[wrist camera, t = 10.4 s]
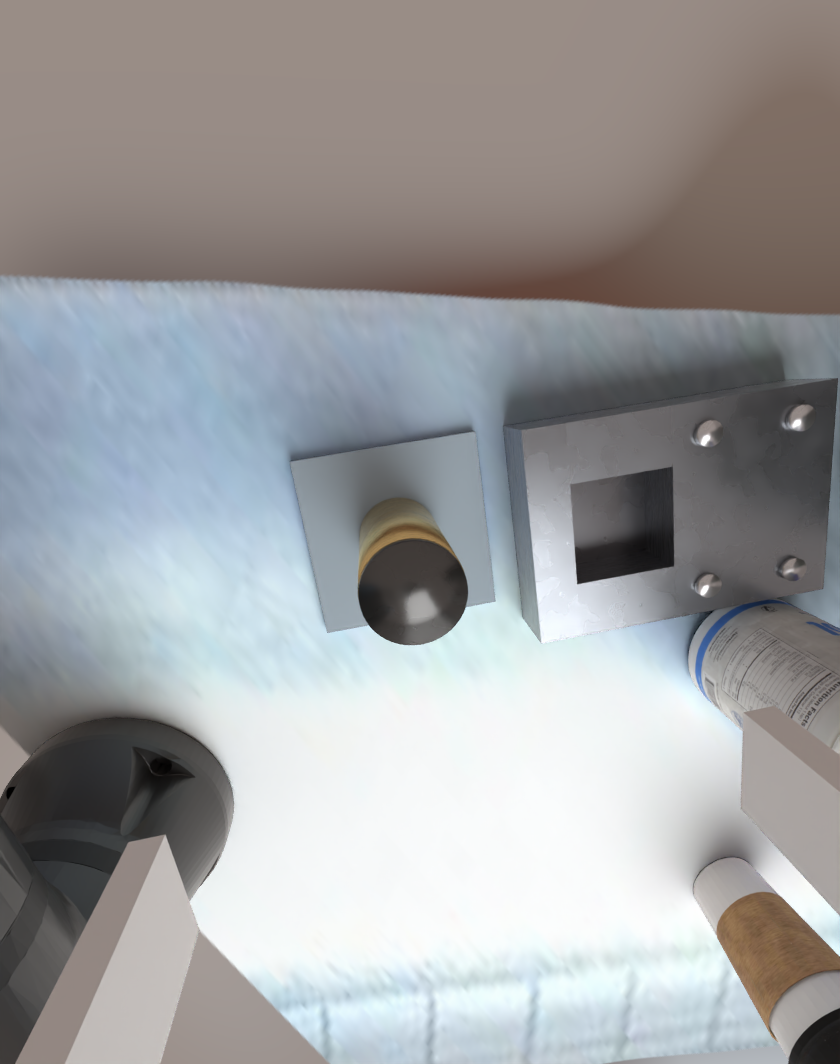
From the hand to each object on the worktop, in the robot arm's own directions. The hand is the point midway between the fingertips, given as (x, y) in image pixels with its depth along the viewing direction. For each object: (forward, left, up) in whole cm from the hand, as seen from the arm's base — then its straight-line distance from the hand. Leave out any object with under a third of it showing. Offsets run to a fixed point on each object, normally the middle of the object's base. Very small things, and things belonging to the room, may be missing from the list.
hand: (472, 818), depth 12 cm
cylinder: (0, 0, -24) cm, 24 cm away
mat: (0, 0, -24) cm, 25 cm away
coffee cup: (+24, -38, -25) cm, 51 cm away
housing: (+18, -1, -24) cm, 30 cm away
